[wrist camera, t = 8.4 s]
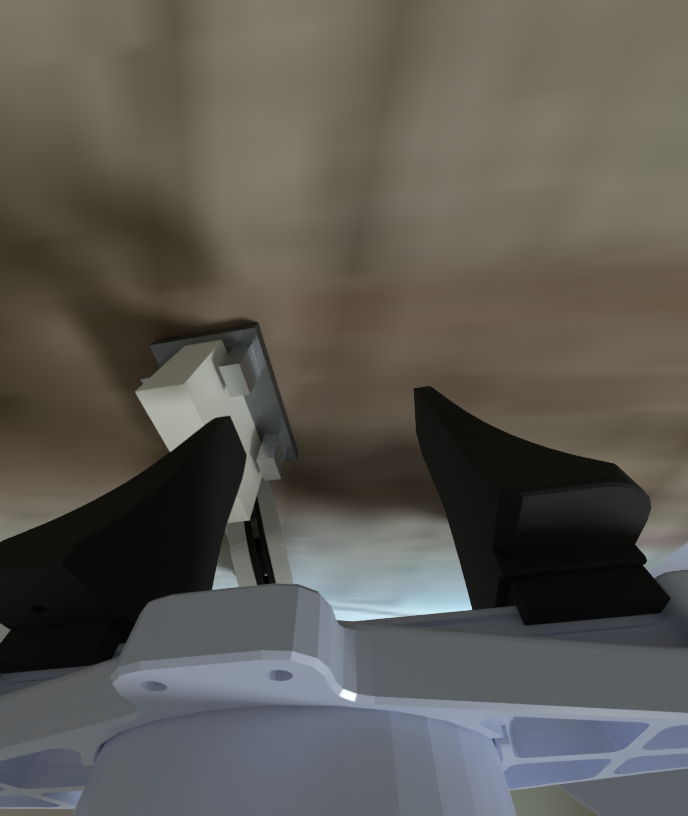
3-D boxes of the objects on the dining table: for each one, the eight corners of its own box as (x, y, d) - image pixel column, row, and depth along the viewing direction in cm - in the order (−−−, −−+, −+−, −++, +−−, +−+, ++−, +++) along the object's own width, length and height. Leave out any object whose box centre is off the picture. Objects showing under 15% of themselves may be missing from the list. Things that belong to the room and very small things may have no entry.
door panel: (222, 339, 21) (184, 383, 15) (267, 458, 26) (249, 520, 21) (177, 347, 21) (124, 393, 16) (231, 463, 26) (204, 525, 21)
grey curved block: (207, 468, 28) (209, 573, 20) (262, 454, 29) (286, 547, 21) (244, 579, 37) (257, 682, 29) (286, 564, 38) (308, 659, 30)
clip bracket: (258, 322, 21) (242, 345, 18) (298, 452, 27) (292, 487, 23) (156, 339, 21) (122, 365, 18) (217, 463, 27) (199, 499, 24)
